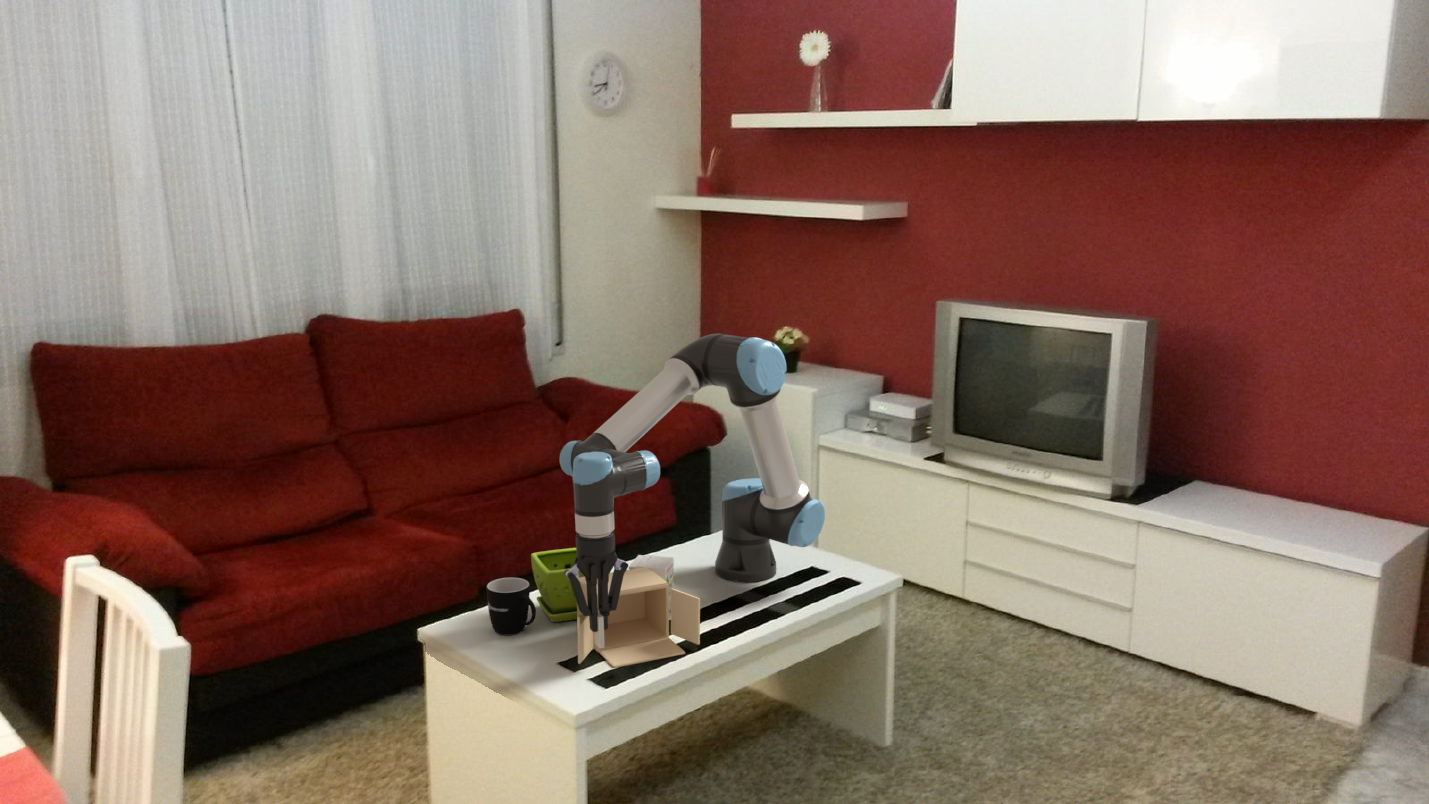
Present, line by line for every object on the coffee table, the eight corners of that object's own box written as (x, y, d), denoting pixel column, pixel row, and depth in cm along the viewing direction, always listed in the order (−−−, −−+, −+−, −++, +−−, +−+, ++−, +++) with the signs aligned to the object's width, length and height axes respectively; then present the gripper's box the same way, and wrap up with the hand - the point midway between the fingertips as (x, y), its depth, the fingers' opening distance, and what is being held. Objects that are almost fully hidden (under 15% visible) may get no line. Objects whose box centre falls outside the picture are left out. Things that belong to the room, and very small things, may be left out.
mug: (479, 631, 241) (477, 586, 239) (508, 618, 248) (507, 574, 246) (521, 644, 234) (519, 598, 232) (549, 630, 242) (548, 585, 240)
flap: (580, 663, 222) (579, 617, 220) (577, 663, 222) (577, 617, 220) (593, 647, 230) (593, 603, 228) (591, 647, 230) (590, 602, 228)
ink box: (665, 619, 248) (665, 569, 246) (627, 616, 250) (627, 566, 248) (674, 605, 257) (674, 556, 254) (638, 602, 258) (637, 553, 256)
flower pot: (546, 628, 243) (545, 572, 240) (530, 606, 255) (528, 552, 253) (608, 619, 248) (608, 563, 246) (589, 597, 261) (588, 544, 258)
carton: (660, 616, 250) (660, 562, 248) (700, 650, 232) (701, 593, 230) (577, 631, 241) (576, 576, 239) (612, 668, 224) (612, 609, 221)
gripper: (617, 521, 225) (621, 632, 230) (557, 531, 220) (563, 645, 225) (632, 532, 219) (636, 645, 224) (571, 543, 213) (576, 659, 218)
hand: (599, 645), depth 224 cm, fingers closed
